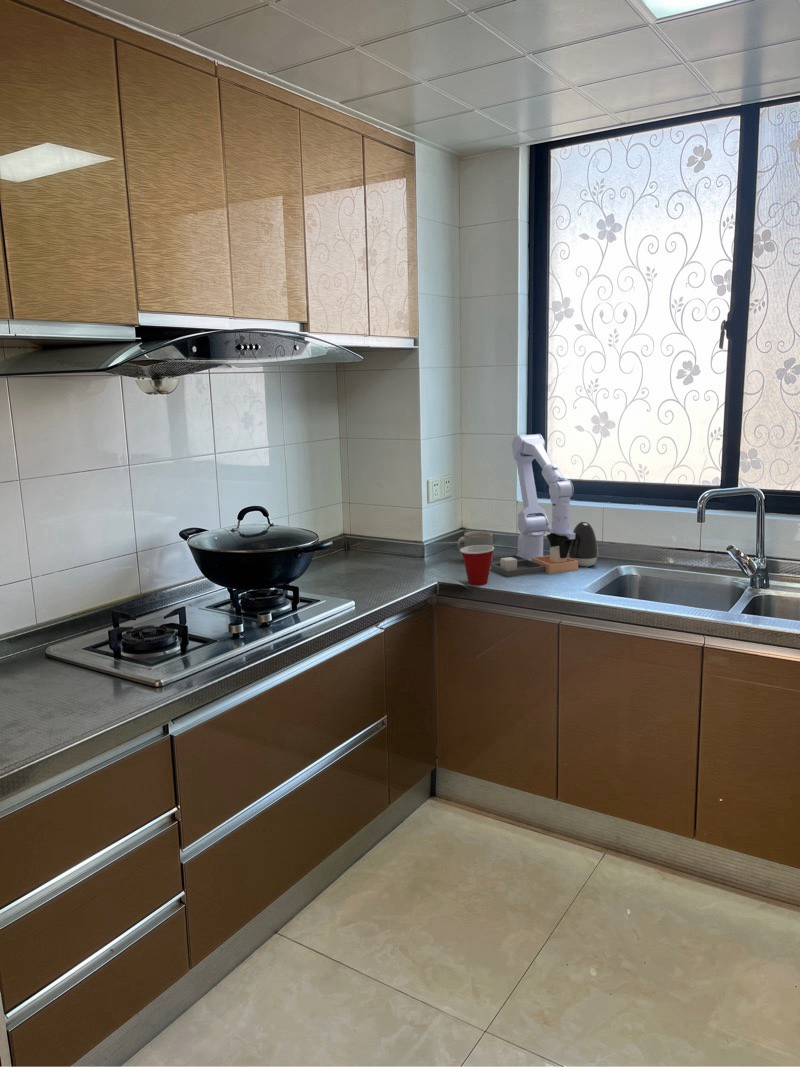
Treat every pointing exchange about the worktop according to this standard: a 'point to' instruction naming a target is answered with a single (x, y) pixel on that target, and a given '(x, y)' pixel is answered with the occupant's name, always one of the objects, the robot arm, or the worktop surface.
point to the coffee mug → (476, 539)
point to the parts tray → (520, 568)
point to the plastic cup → (477, 563)
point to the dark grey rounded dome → (584, 545)
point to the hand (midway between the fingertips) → (559, 556)
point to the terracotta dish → (556, 564)
